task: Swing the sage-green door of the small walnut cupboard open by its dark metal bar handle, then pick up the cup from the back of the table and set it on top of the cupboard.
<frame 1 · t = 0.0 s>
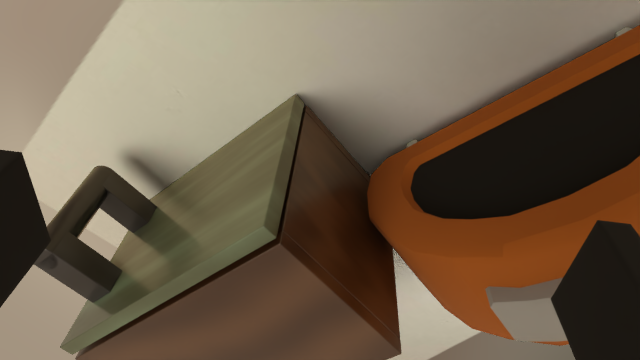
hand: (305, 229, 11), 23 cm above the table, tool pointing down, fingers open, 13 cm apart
cupboard door: (160, 190, 31), point 8 cm above the table, hinge at 0.0°
cupboard: (268, 205, 41), on the table
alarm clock: (525, 128, 35), on the table
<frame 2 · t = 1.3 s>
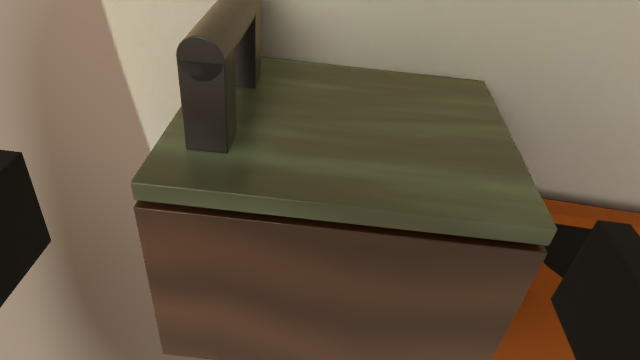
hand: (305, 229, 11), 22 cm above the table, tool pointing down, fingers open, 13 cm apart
cupboard door: (352, 81, 24), point 7 cm above the table, hinge at 0.0°
cupboard: (339, 149, 36), on the table
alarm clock: (582, 236, 39), on the table
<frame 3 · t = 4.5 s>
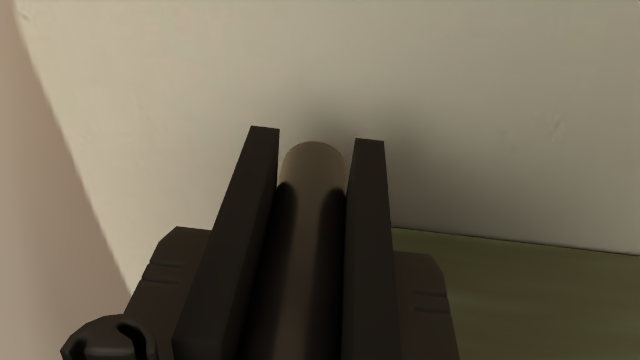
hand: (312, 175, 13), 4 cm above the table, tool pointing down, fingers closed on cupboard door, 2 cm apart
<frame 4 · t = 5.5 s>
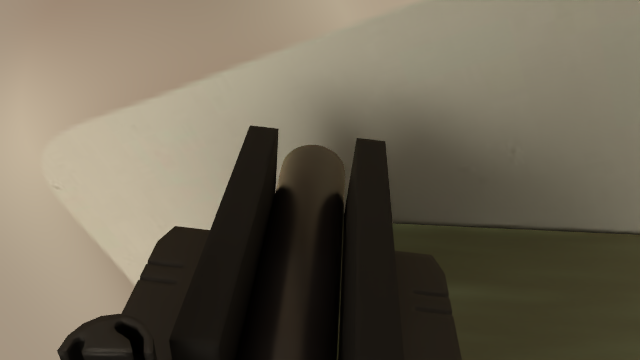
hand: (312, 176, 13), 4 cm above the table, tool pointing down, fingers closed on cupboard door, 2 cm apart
cupboard door: (551, 353, 12), point 8 cm above the table, hinge at 13.4°, touching gripper
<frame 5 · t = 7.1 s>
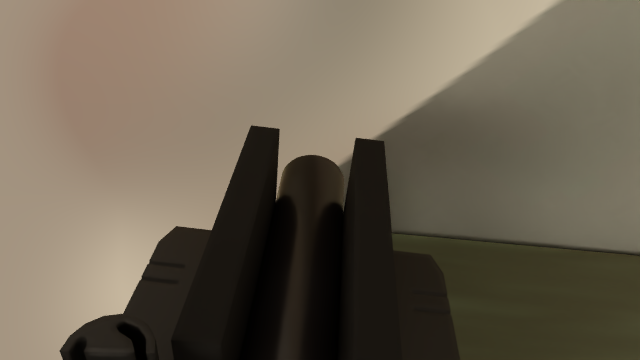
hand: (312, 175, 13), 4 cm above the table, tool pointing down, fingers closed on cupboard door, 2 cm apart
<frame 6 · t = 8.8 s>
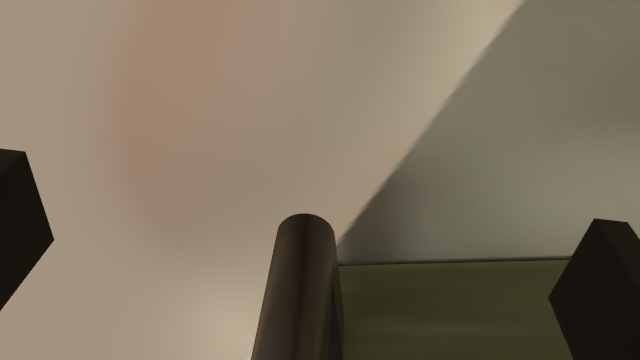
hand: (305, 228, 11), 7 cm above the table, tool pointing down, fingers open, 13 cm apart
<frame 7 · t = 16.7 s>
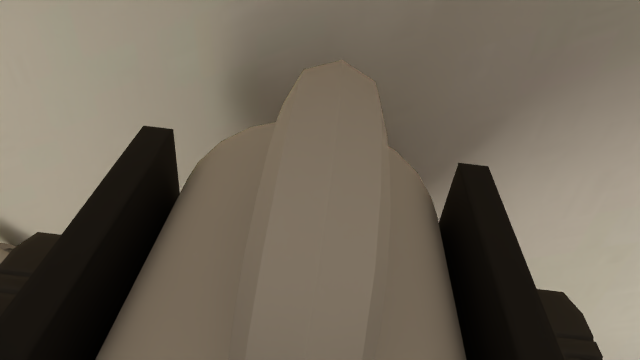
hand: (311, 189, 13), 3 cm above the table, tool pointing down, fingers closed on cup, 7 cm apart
cup: (315, 179, 13), point 2 cm above the table, touching gripper
when the fingers open (15 cm above the table, at t = 23.5 s): cup stays where it is, resting on cupboard.
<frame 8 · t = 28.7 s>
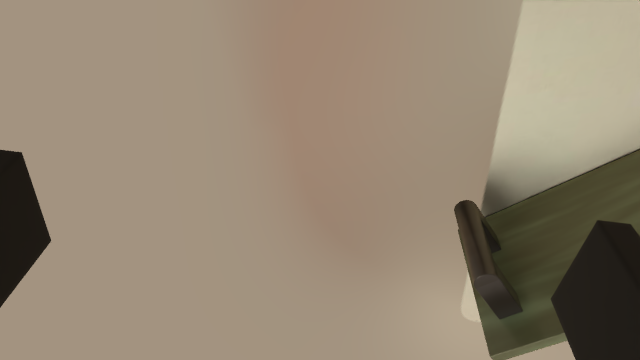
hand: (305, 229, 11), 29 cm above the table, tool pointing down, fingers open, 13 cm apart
cupboard door: (562, 228, 38), point 8 cm above the table, hinge at 48.3°
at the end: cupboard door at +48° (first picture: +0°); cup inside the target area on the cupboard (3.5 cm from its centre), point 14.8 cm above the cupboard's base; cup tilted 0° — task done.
